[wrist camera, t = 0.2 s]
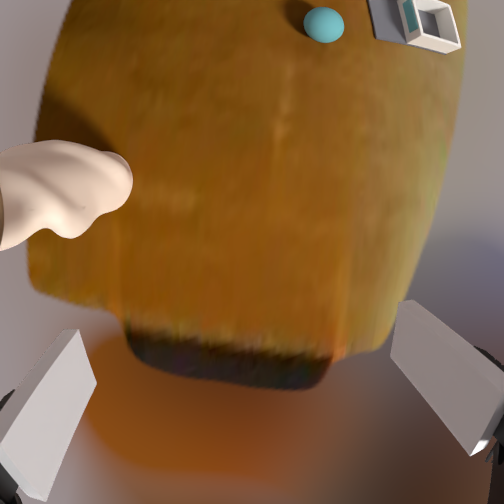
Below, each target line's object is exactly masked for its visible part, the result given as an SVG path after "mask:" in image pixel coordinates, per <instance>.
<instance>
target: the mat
mask: <svg viewBox="0 0 504 504" xmlns="http://www.w3.org/2000/svg"><path fill="white" fill-rule="evenodd" d="M397 1H398V0H368V5H369V9H370V13H371V18H372V23H373V28H374V33H375V38H376V39H379V40H384V41H390V42H395V43H400V44H404V45H409V46H413V47H417V48H422V49H425V50H429V51H433V52H437V53H440V54H444V55H446V53H442V52H439V51H435V50H431V49H428V48H424V47H420V46H416V45H412V44H407V42H406V37H405V32H404V28H403V23H402V19H401V15H400V11H399V7H398V3H397ZM418 13H419V16H420V20H421V24H422V28H423V33H425V34H429V35H432V36H435V37H439V38H440V34H439V30H438V26H437V22H436V18H435V14H431V13H428V12H425V11H422V10H419V9H418Z"/></svg>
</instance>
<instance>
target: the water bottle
mask: <svg viewBox="0 0 504 504" xmlns="http://www.w3.org/2000/svg"><path fill="white" fill-rule="evenodd" d="M132 185H133V177H132V172H131V170H130V167H129V165H128V164H127V162H126V161H125V160H124V159H123V158H122V157H121V156H120V155H118V154H116V153H113V152H109V151H99V150H97V149H94V148H91V147H88V146H85V145H81V144H78V143H73V142H68V141H63V140H48V141H42V142H35V143H28V144H22V145H17V146H14V147H11V148H8V149H6V150H4V151H2V152H0V251H1V250H5V249H8V248H11V247H13V246H15V245H18V244H19V243H21V242H22V241H24V240H26V239H27V238H28V237H29V236H31V235H32V234H33V233H35V232H36V231H38V230H40V229H42V228H49V229H52V230H53V231H54V232H55V233H57V234H58V235H60V236H62V237H65V238H75V237H78V236H79V235H81V234H82V233H83V232H85V231H86V230H87V229H88V228H89V227H90V225H91V224H92V223H93V221H94V220H95V219H96V218H97V217H98V216H100V215H101V214H104V213H107V212H111V211H114V210H116V209H118V208H119V207H120V206H122V205H123V204H124V203H125V201H126V200H127V198H128V197H129V194H130V192H131V189H132Z"/></svg>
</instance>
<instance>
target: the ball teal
mask: <svg viewBox="0 0 504 504" xmlns="http://www.w3.org/2000/svg"><path fill="white" fill-rule="evenodd" d="M304 29H305V31H306V33H307V34H308V35H309V36H310V37H311V38H312V39H314V40H316V41H318V42H323V43H328V42H333V41H335V40H337V39H338V38H339V37H340V36H341V35H342V33H343V30H344V23H343V20H342V18H341V16H340V15H339V14H338V13H337V12H336V11H334V10H333V9H330V8H327V7H317V8H314V9H312V10H311V11H309V12H308V13H307V14H306V16H305V18H304Z"/></svg>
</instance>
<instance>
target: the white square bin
mask: <svg viewBox="0 0 504 504" xmlns="http://www.w3.org/2000/svg"><path fill="white" fill-rule="evenodd" d="M397 3H398V7H399V11H400V15H401V19H402V23H403V28H404V32H405V37H406V42H407V44H412V45H416V46H420V47H424V48H428V49H431V50H435V51H439V52H442V53H449V52H451V51H454V50H457V49H459V48H461V44H460V40H459V35H458V32H457V28H456V24H455V20H454V17H453V13H452V10H451V7H450V5H449V4H446V3H443V2H441V1H438V0H398V1H397ZM418 9H419V10H422V11H425V12H428V13H431V14H435V18H436V22H437V26H438V30H439V34H440V38H439V37H435V36H432V35H429V34H425V33H423V28H422V24H421V20H420V16H419V13H418Z"/></svg>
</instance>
